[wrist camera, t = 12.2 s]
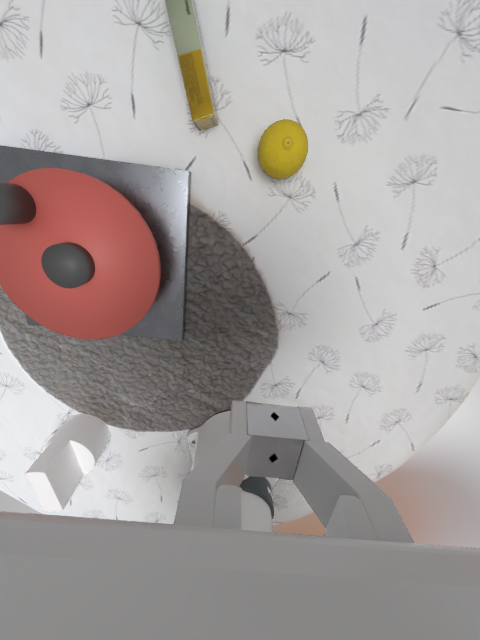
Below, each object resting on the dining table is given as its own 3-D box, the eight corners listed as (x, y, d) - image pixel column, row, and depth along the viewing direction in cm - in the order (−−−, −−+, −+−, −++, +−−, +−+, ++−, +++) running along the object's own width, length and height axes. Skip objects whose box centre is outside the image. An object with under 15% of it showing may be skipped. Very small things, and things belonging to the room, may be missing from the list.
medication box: (168, 1, 28) (156, -30, 25) (192, -7, 28) (184, -40, 24) (198, 132, 33) (192, 122, 29) (219, 126, 32) (216, 115, 29)
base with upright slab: (57, 414, 50) (4, 473, 39) (104, 412, 49) (64, 470, 38) (71, 449, 53) (26, 512, 42) (115, 447, 53) (82, 510, 42)
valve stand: (183, 337, 43) (175, 355, 38) (34, 320, 42) (2, 337, 37) (190, 172, 34) (180, 164, 28) (1, 147, 33) (-48, 133, 28)
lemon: (247, 163, 34) (249, 149, 26) (274, 121, 32) (284, 93, 25) (281, 191, 35) (291, 185, 28) (308, 151, 33) (327, 134, 26)
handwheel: (193, 281, 33) (183, 295, 27) (85, 360, 38) (57, 386, 32) (71, 125, 27) (25, 102, 21) (-41, 242, 31) (-105, 248, 26)
